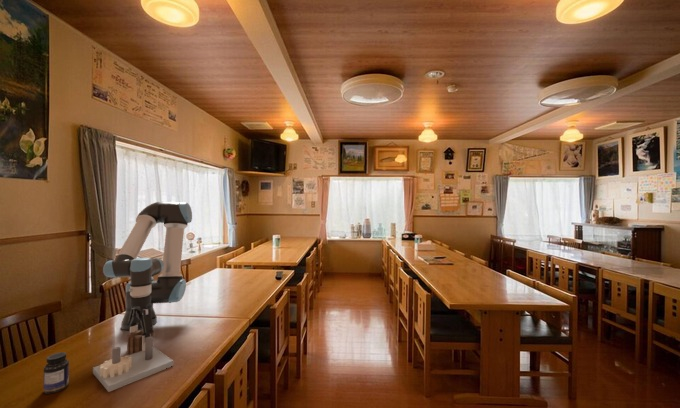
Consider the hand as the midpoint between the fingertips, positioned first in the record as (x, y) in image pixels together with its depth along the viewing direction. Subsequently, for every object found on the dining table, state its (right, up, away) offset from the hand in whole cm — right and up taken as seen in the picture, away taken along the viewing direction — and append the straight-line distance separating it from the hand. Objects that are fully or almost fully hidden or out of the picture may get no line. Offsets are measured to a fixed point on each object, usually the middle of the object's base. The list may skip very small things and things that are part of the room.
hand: (139, 345), depth 124 cm
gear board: (+8, -2, -14) cm, 16 cm away
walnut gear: (0, -2, 0) cm, 2 cm away
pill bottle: (-10, -2, -26) cm, 28 cm away
